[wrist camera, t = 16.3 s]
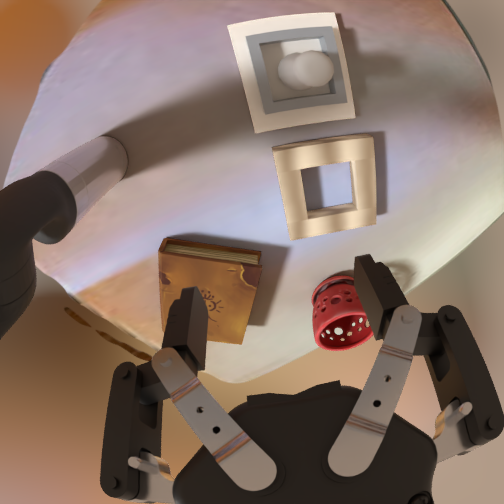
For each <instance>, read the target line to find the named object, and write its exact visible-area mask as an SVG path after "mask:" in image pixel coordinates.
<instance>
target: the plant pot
mask: <svg viewBox="0 0 504 504" xmlns="http://www.w3.org/2000/svg"><path fill="white" fill-rule="evenodd" d="M312 304H313V307H314V308H313V319H312V321H313V332H314V338H315V341H316V343H317V345H318V346H320V347H321V348H323V349H326V350H331V351H341V350H347V349H351V348H354V347H356V346H359V345H361V344H362V343H364V342H366V341H367V340H368V339H370V338H371V337H372V336H373V335H374V334H373V332H372V329H371V327H370V326H369V327H368V328H367V327H366V320H367V316H366V314H365V311H364V309H363V307H362V304H361V302H360V299H359V297H358V295H357V292H356V290H355V286H354V278H353V277H350V276H335V277H331V278H329V279H327V280H325V281H323V282H322V283H321V284H319V285H318V286H317V288H316V289H315V291H314V293H313V295H312ZM361 317H362V318H363V321H362V323H359V319H360V318H361ZM353 322H355V326H352V323H353ZM360 327H361V328H362V330H361V331H358V330H359V328H360ZM335 328H341V329H342V330H343V333H342V334H341V335H337V334H335V332H334V329H335ZM326 330H329V331H330V334H327V333H326ZM348 332H352V335H351V336H347V333H348ZM321 333H322V334H323V335H324V338H323V337H322V335H321ZM330 337H332V338H333V340H331V339H330ZM341 338H344V339H345V340H344V341H341V340H340V339H341Z"/></svg>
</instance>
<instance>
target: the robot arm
mask: <svg viewBox="0 0 504 504" xmlns="http://www.w3.org/2000/svg"><path fill="white" fill-rule="evenodd" d="M127 165H128V158H127V154H126V151H125V149H124V147H123V146H122V144H121V143H120V142H119V141H117V140H116V139H114V138H112V137H109V136H101V137H98V138H95V139H93V140H91V141H89V142H87V143H85V144H83V145H82V146H80V147H78V148H76V149H74V150H72V151H71V152H69V153H67V154H65V155H64V156H62V157H60V158H58V159H57V160H55V161H53V162H52V163H50V164H49V165H47V166H45V167H44V168H42V169H41V170H39V171H38V172H36V173H35V174H33V175H31V176H29V177H26V178H23V179H21V180H18V181H15V182H13V183H12V184H10V185H8V186H7V187H5V188H4V189H2V190H1V191H0V339H1V338H2V337H3V336H4V334H5V333H6V332H7V331H8V330H9V329H10V328H11V327H12V325H13V324H14V323H15V322H16V321H17V320H18V318H19V317H20V316H21V315H22V314H23V312H24V311H25V310H26V308H27V307H28V305H29V304H30V302H31V300H32V298H33V296H34V292H35V289H36V269H35V261H34V254H33V245H32V239H33V238H34V239H35V240H37V241H39V242H41V243H44V244H55V243H58V242H59V241H61V240H62V239H63V238H64V237H65V236H66V235H67V234H68V233H69V232H70V231H71V230H72V228H73V227H74V226H75V225H76V224H77V223H78V222H79V221H80V220H81V219H82V218H83V216H84V215H85V214H86V213H87V212H88V211H89V210H90V209H91V208H92V207H93V206H94V205H95V204H96V203H97V202H98V201H99V200H100V199H101V198H102V197H103V196H104V195H105V194H106V193H107V192H108V191H109V190H110V189H111V188H112V187H113V186H114V185H115V184H117V183H118V182H119V181H120V180H121V179H122V178H123V176H124V175H125V173H126V170H127ZM354 286H355V290H356V292H357V295H358V297H359V299H360V302H361V304H362V307H363V309H364V311H365V314H366V316H367V319H368V321H369V324H370V327H371V329H372V332H373V334H374V337H375V339H376V340H380V339H383V341H384V342H383V344H382V347H381V348H380V351H379V353H378V356H377V358H376V361H375V363H374V366H373V368H372V370H371V372H370V375H369V377H368V379H367V382H366V384H365V386H364V388H363V390H360V389H358V388H354V387H351V386H341V384H340V380H338V381H333V382H329V383H324V384H320V385H316V386H314V387H312V388H309V389H307V390H305V391H302V392H300V393H298V394H295V395H287V394H274V393H266V394H258V395H250V396H247V402H245V403H242V404H240V405H238V406H237V407H235V408H234V409H233V410H231V411H230V412H229V413H227V412H226V411H225V410H224V409H223V408H222V407H221V406H220V405H219V403H218V402H217V401H216V400H215V399H214V397H213V396H212V395H211V394H210V393H209V392H208V390H207V389H206V388H205V387H204V386H203V384H202V383H201V382H200V381H199V379H198V378H197V373H198V371H201V370H205V358H206V343H207V330H208V309H207V306H206V303H205V301H204V299H203V297H202V295H201V293H200V291H199V289H198V287H197V286H193V287H187V288H183V289H182V291H181V296H180V299H176V300H174V302H173V303H172V305H171V306H170V308H169V313H168V318H167V322H166V323H167V324H166V327H165V332H164V338H163V343H162V348H161V349H160V350H159V351H157V352H156V353H155V355H154V356H153V358H152V360H151V361H149V362H147V363H144V364H141V365H139V366H136V365H135V364H133V363H131V362H124V363H122V364H120V365H119V366H118V367H117V368H116V369H115V371H114V374H113V379H112V385H111V391H110V396H109V402H108V408H107V415H106V422H105V430H104V439H103V448H102V459H101V474H100V475H101V476H100V484H101V487H102V489H103V491H104V492H105V493H106V494H107V495H108V496H110V497H114V498H119V499H122V500H126V501H131V502H137V503H155V502H160V503H171V504H434V501H433V498H432V492H431V488H432V479H433V475H434V471H435V468H436V464H437V463H439V462H442V461H444V460H446V459H448V458H450V457H453V456H455V455H464V454H466V453H468V452H470V451H472V450H474V449H476V448H478V447H480V446H482V445H484V444H486V443H488V442H489V441H491V440H493V439H495V438H496V437H498V436H499V435H500V434H501V432H502V430H503V427H504V414H503V411H502V408H501V404H500V401H499V398H498V395H497V393H496V390H495V387H494V384H493V381H492V379H491V376H490V374H489V371H488V369H487V366H486V364H485V361H484V359H483V357H482V354H481V353H480V350H479V348H478V345H477V343H476V341H475V339H474V337H473V335H472V333H471V331H470V329H469V327H468V325H467V323H466V321H465V319H464V317H463V315H462V313H461V312H460V310H459V309H457V308H456V307H454V306H451V305H446V306H443V307H441V308H440V309H439V311H438V313H421V312H420V311H419V310H418V309H417V308H415V307H414V306H410V305H409V303H408V302H407V300H406V298H405V296H404V294H403V292H402V291H401V289H400V287H399V285H398V284H397V283H396V280H395V278H394V277H393V275H392V273H391V271H390V270H389V268H388V267H387V266H385V265H384V264H383V263H382V262H378V263H375V262H374V260H373V258H372V256H371V255H370V254H366V255H361V256H357V257H355V263H354ZM412 355H424V358H425V361H426V363H427V366H428V369H429V372H430V375H431V378H432V381H433V384H434V387H435V391H436V393H437V397H438V401H439V404H440V408H441V411H442V412H440V414H439V415H438V416H437V418H436V421H435V435H434V437H433V439H431V437H429V436H428V435H427V434H425V433H424V432H423V431H421V430H420V429H418V428H417V427H415V426H414V425H412V424H410V423H409V422H407V421H406V420H405V419H403V418H402V417H400V416H399V415H397V414H396V413H394V410H395V408H396V405H397V403H398V400H399V398H400V395H401V392H402V390H403V387H404V384H405V381H406V378H407V375H408V372H409V369H410V366H411V363H412V359H413V356H412ZM170 397H171V400H172V402H173V403H174V405H175V406H176V408H177V409H178V411H179V412H180V413H181V415H182V416H183V417H184V419H185V420H186V422H187V423H188V425H189V426H190V427H191V429H192V430H193V431H194V433H195V434H196V435H197V436H198V437H199V439H200V440H201V442H202V443H203V445H202V447H201V448H200V449H199V450H198V452H197V453H196V454H195V455H194V457H192V459H191V460H190V461H189V462H188V463H187V465H186V466H185V467H184V468H183V469H182V470H181V472H180V473H179V474H178V475H177V477H176V478H175V479H174V478H173V477H172V476H171V473H170V468H169V465H168V463H167V462H166V461H165V460H164V459H162V458H161V430H162V407H163V400H165V399H168V398H170Z"/></svg>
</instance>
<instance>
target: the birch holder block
mask: <svg viewBox="0 0 504 504" xmlns="http://www.w3.org/2000/svg"><path fill="white" fill-rule="evenodd" d="M272 151H273V156H274V161H275V165H276V170H277V175H278V180H279V185H280V190H281V195H282V200H283V205H284V210H285V216H286V221H287V226H288V232H289V236H290V240H297V239H302V238H307V237H312V236H317V235H322V234H328V233H333V232H338V231H343V230H348V229H354V228H359V227H364V226H369V225H374V224H376V172H375V154H374V140H373V137H372V136H370V135H368V134H366V133H364V134H355V135H346V136H338V137H331V138H324V139H317V140H311V141H304V142H298V143H293V144H287V145H282V146H276V147H272ZM348 161H350V172H351V184H352V200H353V203H348V204H343V205H337V206H331V207H326V208H320V209H315V210H310V211H307V209H306V203H305V196H304V190H303V183H302V177H301V171H300V169H304V168H310V167H316V166H322V165H328V164H334V163H341V162H348Z"/></svg>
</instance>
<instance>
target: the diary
mask: <svg viewBox="0 0 504 504" xmlns="http://www.w3.org/2000/svg"><path fill="white" fill-rule="evenodd" d="M260 256H261V251H254V250H247V249H240V248H233V247H226V246H219V245H212V244H205V243H198V242H191V241H184V240H178V239H171V238H164V239H163V241H162V243H161V245H160V248H159V250H158V257H159V286H160V304H161V319H162V330H163V332H165V327H166V324H167V323H166V322H167V318H168V313H169V308H170V306H171V305H172V303H173V302H174V300H176V299H180V296H181V291H182V289H183V288H187V287H193V286H197V287H198V289H199V291H200V293H201V295H202V297H203V299H204V301H205V303H206V306H207V309H208V330H207V341H215V342H223V343H231V344H241V345H242V342H243V338H244V334H245V331H246V327H247V323H248V320H249V316H250V312H251V309H252V305H253V301H254V297H255V294H256V290H257V286H258V282H259V279H260V275H261V271H262V265H258V264H259V260H260Z"/></svg>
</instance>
